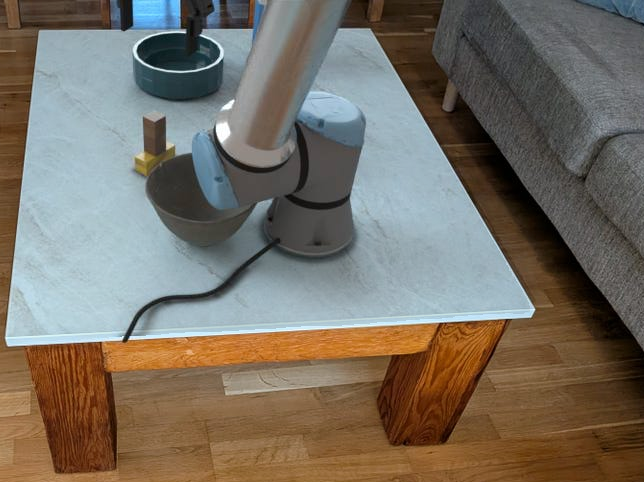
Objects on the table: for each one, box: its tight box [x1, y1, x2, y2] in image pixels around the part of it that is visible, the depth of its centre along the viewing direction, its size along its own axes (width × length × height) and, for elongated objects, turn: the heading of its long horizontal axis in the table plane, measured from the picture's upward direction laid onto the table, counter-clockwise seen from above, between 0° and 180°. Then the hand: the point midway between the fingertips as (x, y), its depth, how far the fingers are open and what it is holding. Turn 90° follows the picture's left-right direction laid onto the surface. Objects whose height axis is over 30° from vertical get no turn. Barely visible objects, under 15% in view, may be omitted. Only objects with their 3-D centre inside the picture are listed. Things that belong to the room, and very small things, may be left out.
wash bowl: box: [131, 30, 225, 100], centre depth 148 cm, size 20×20×6 cm
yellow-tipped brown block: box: [134, 109, 176, 177], centre depth 124 cm, size 8×3×10 cm, turn 140°
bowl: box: [144, 152, 259, 247], centre depth 111 cm, size 19×19×10 cm
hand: (158, 40), depth 117 cm, fingers open, 13 cm apart
